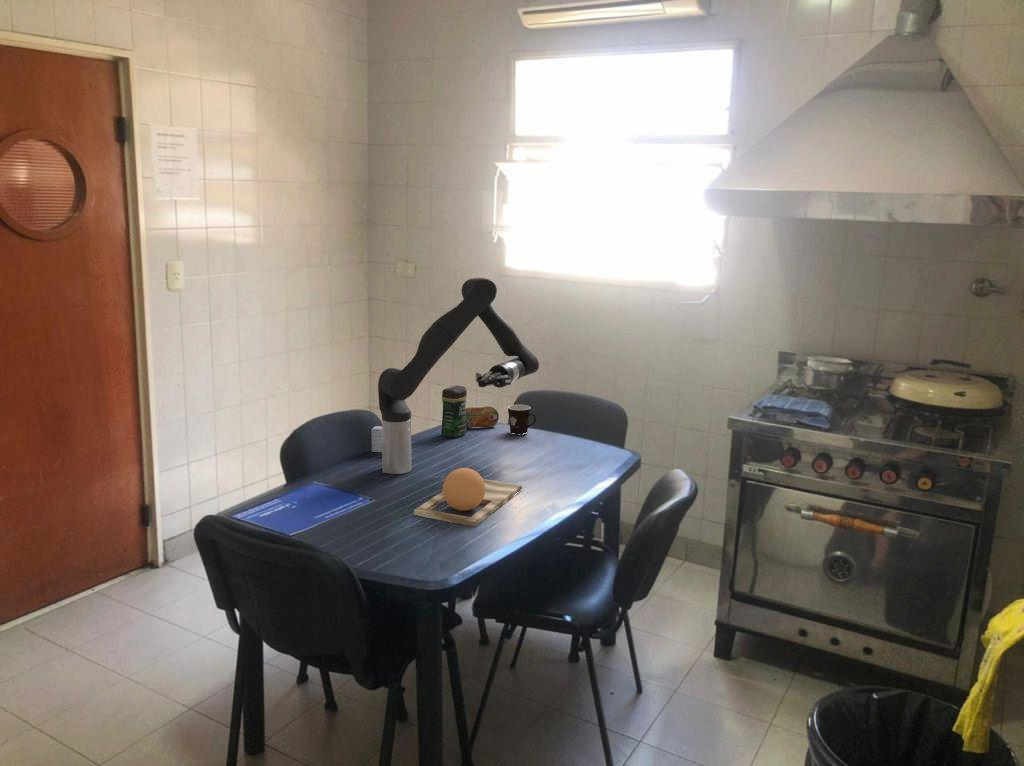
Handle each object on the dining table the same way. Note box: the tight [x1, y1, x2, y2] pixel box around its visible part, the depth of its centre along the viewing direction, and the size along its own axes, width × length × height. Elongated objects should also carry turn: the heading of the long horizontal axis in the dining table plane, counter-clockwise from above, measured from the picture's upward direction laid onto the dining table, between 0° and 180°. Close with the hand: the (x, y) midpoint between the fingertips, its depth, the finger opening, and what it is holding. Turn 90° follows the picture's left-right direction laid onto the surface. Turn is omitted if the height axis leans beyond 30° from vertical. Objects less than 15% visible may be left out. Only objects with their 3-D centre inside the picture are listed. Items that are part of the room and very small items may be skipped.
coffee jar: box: [441, 385, 468, 438], centre depth 300 cm, size 10×8×19 cm
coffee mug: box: [507, 404, 537, 434], centre depth 304 cm, size 12×9×10 cm
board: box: [413, 478, 523, 527], centre depth 234 cm, size 32×19×2 cm, turn 156°
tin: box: [466, 405, 500, 429], centre depth 312 cm, size 15×3×8 cm, turn 105°
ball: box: [442, 467, 485, 512], centre depth 227 cm, size 12×12×12 cm
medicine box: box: [371, 425, 382, 453], centre depth 279 cm, size 8×4×9 cm, turn 84°
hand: (481, 384), depth 251 cm, fingers closed
